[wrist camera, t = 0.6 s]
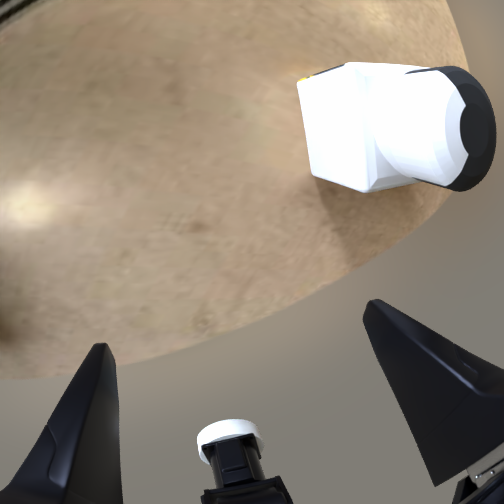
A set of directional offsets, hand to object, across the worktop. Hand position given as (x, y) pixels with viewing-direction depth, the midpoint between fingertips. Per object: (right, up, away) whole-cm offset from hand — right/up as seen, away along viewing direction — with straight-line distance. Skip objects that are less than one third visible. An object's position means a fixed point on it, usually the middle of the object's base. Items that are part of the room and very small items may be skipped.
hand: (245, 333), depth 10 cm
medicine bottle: (+7, +12, +12) cm, 18 cm away
